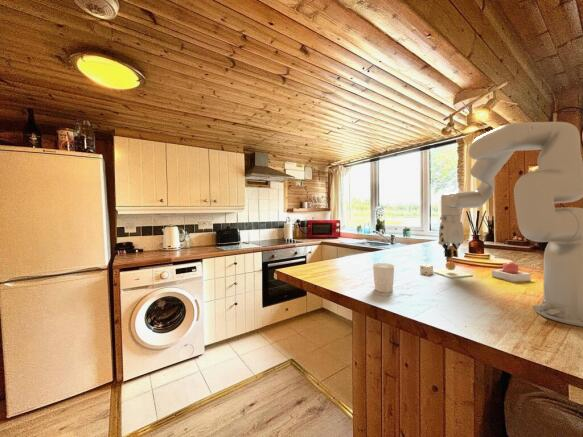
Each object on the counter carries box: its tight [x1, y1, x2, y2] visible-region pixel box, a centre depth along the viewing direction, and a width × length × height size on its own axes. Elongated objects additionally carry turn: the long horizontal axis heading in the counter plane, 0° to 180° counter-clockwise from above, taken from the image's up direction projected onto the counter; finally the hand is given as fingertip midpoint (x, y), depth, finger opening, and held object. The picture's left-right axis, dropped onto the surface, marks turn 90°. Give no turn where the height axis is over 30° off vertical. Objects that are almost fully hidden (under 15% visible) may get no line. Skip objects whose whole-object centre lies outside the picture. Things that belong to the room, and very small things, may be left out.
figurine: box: [443, 245, 459, 270], centre depth 113 cm, size 8×6×12 cm
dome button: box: [502, 261, 519, 274], centre depth 104 cm, size 5×5×5 cm
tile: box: [433, 268, 474, 279], centre depth 114 cm, size 12×12×1 cm
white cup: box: [372, 262, 395, 294], centre depth 94 cm, size 8×8×10 cm
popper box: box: [491, 268, 532, 283], centre depth 104 cm, size 9×9×3 cm
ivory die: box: [419, 264, 434, 276], centre depth 116 cm, size 4×4×4 cm
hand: (450, 256), depth 113 cm, fingers closed on figurine, 2 cm apart
